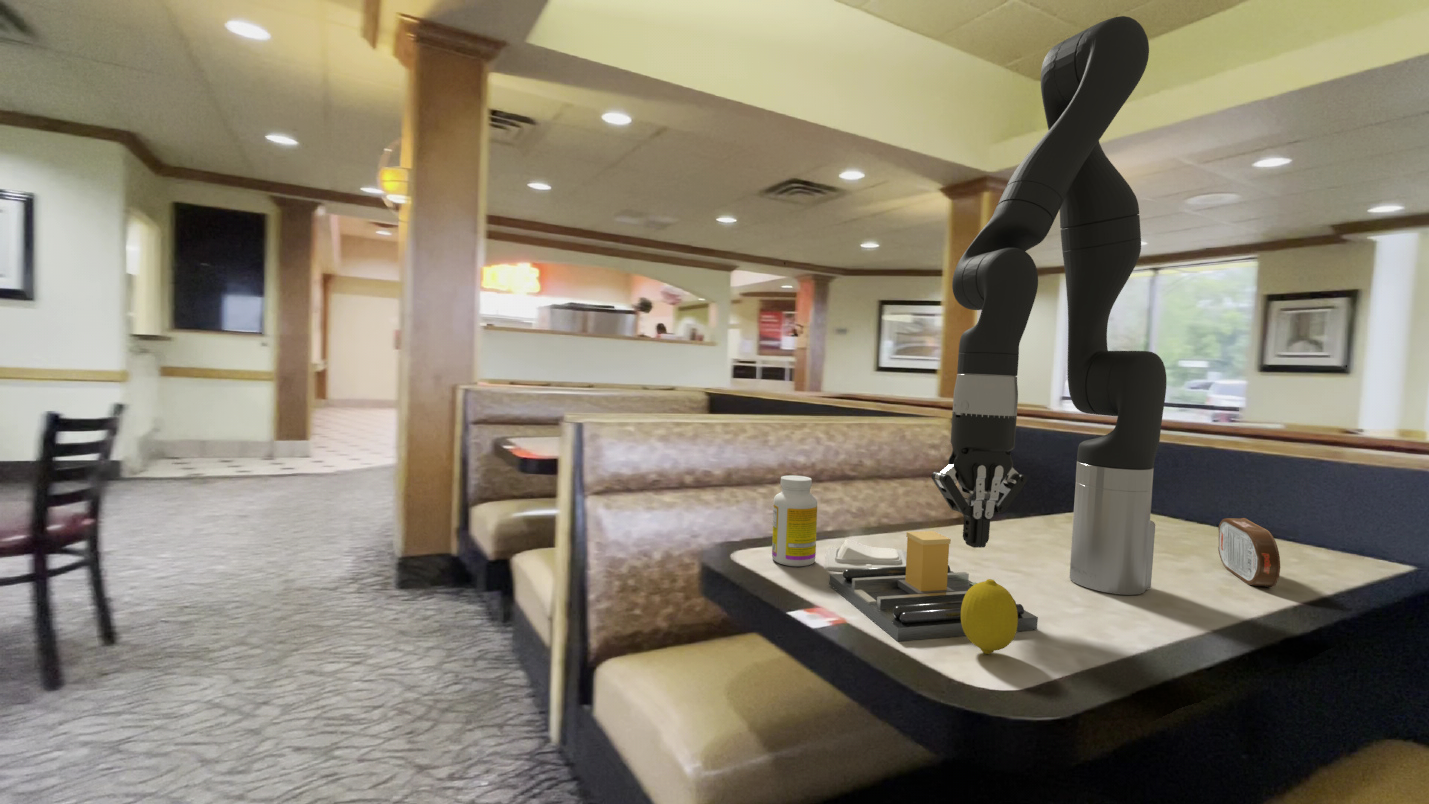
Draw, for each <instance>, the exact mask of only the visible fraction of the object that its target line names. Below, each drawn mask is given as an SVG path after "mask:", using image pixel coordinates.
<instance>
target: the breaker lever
mask: <svg viewBox="0 0 1429 804" xmlns="http://www.w3.org/2000/svg"><path fill="white" fill-rule="evenodd" d="M906 538H907V540H906V552H907V558H906V578H905V580H898V587H900V588H901V589H903V590H904V591H906V592H907V593H909V594H910V595H912V594H928V593H944V592H955V591H954V590H952V589H950V588H949V587H947V576H948V565H949V558H950V557H949V554H950V544H951V538H950V537H947V536H945V535H942V534H941V533H939V532H937V531H934V530H930V531H929V530H926V531H925V530H924V531H923V530H922V531H906Z"/></svg>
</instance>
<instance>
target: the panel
mask: <svg viewBox="0 0 1429 804" xmlns="http://www.w3.org/2000/svg"><path fill="white" fill-rule="evenodd" d="M969 575H970V574H969V573H968V572H966V571H960V572H955V571H952V570H951V567H950V565H949V564H948V576H947V587H949V588H950V589H952V590H954V591H955V592H944V593H928V594H912V595H910V594H909V593H907V592H906V591H904V590H903V589H901V588H900V587H898V580H905V578H906V566H901V567H882V568H863V569H846V570H844V572H842V573H830V574H829V578H828V579H829V580H828V581H829V584H828V585H829V586H830V588H832V589H834V591H836V592H837V593H838V594H839V595H841V596H842V597H843V598H844V599H846V600H847V601H848V602H849V603H850V604H851V605H852V606H854V607H856V609H858V610H859V611H860V612H861V613H863V615H865V616H866V618H868V619H870V620H871V621H872V620H873V621H874V622H873V621H872V622H873V623H875V625H877V626H878V627H879V626H880V627H879V628H880V629H882V630H883V631H884V632H886V634H887V635H890V636H891V638H893V639H894V640H895V641H896V642H904V641H905V642H907V641H917V640H928V639H929V640H930V639H942V638H955V637H967V636H966V635H965V633H964V631H963V628H962V624H961V606H962V602H963V599H964V596H965V594H966V592H967V591H968V590H969V589H970V588H971V587H972V586H973V585H975V584H977V582H973V581H971V580H969ZM1014 601H1015V604H1016V608H1017V614H1018V625H1017V631H1016V633H1017V632H1025V631H1024V630H1029V631H1034V630H1033V629H1037V630H1038V623H1039V622H1038V621H1039V618H1038V616H1036V615H1035V614H1032V613H1031V612H1029V611H1027V610H1026V609H1025V608H1024V606H1023V605H1022V604H1020V603H1016V600H1015V599H1014Z"/></svg>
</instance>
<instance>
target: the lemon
mask: <svg viewBox="0 0 1429 804" xmlns="http://www.w3.org/2000/svg"><path fill="white" fill-rule="evenodd" d="M976 583H977V582H976ZM1014 600H1015V599H1014V597H1013V595H1012V594H1011V593H1010V591H1009V590H1007V588H1005V587H1004V586H1003V585H1001V584H1000V583H996V581H995V579H991V578H988V579H986V580H985V581H981V582H978V583H977V584H975V585H973V586H972V587H971V588H970V589H969V590H968V591H967V592H966V594H965V596H964V599H963V602H962V606H961V624H962V628H963V631H964V633H965V635H966V636H965V637H966V638H967V639H968V640H969V642H970V643H972V644H973V645H974V646H975V647H977V648H979V649H980V651H982V652H983V654H985V655H991V654H992V653H994V652H995V651H1001V650H1003V649H1005V648H1006V647H1008V646H1009V645H1010V644H1011V643H1012V641H1013V640H1014V639H1015V636H1016V635H1017V632H1018V631H1017V625H1018V614H1017V608H1016V604H1017V603H1016V604H1015V602H1016V600H1015V601H1014ZM1016 631H1017V632H1016Z"/></svg>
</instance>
